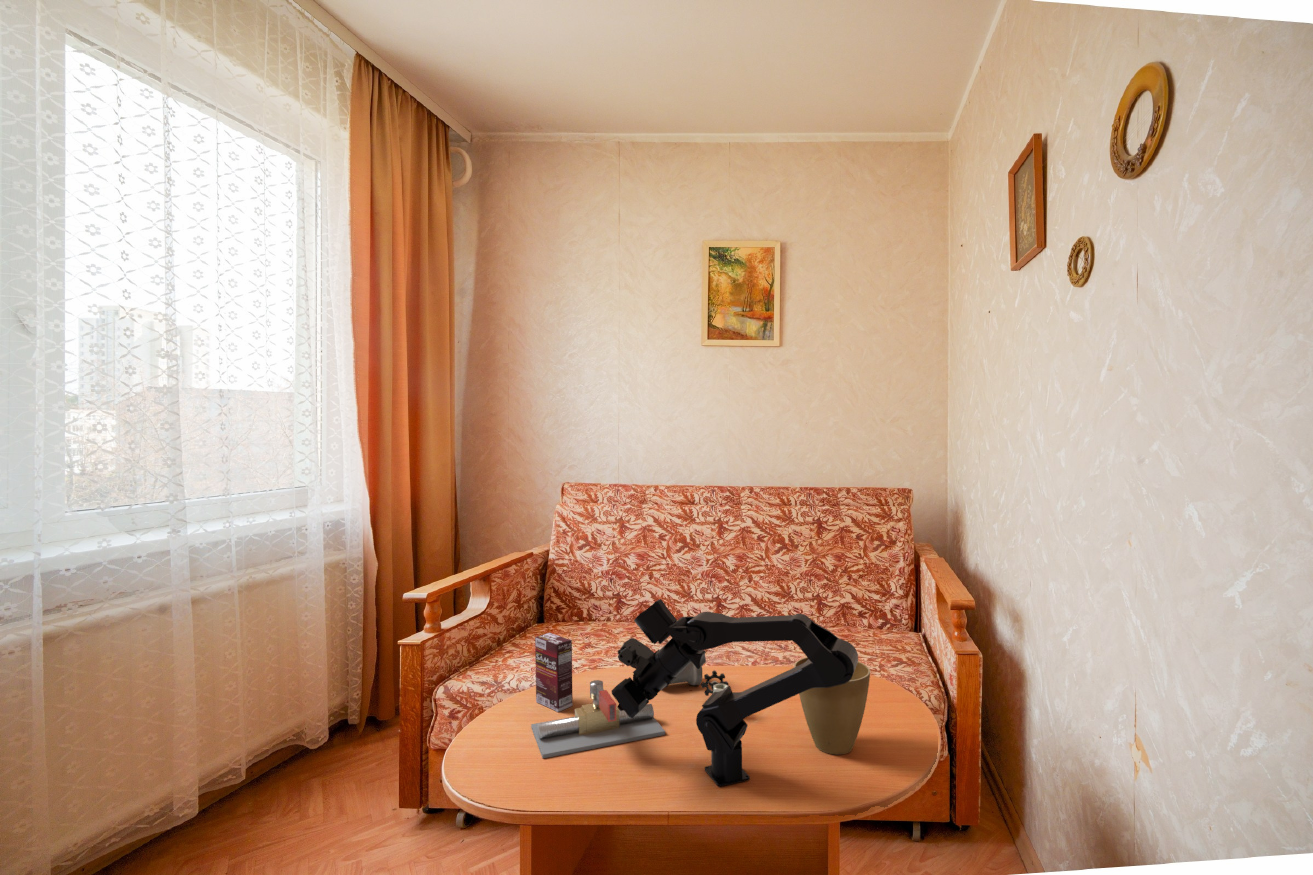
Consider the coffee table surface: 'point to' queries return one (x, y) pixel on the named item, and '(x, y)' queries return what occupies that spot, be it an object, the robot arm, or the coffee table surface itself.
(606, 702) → the valve lever
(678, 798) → the coffee table surface
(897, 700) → the coffee table surface
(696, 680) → the pipe fitting
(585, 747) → the mounting board
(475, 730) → the coffee table surface
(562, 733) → the valve body
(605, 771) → the coffee table surface
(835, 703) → the plant pot
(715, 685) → the valve
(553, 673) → the supplement box
